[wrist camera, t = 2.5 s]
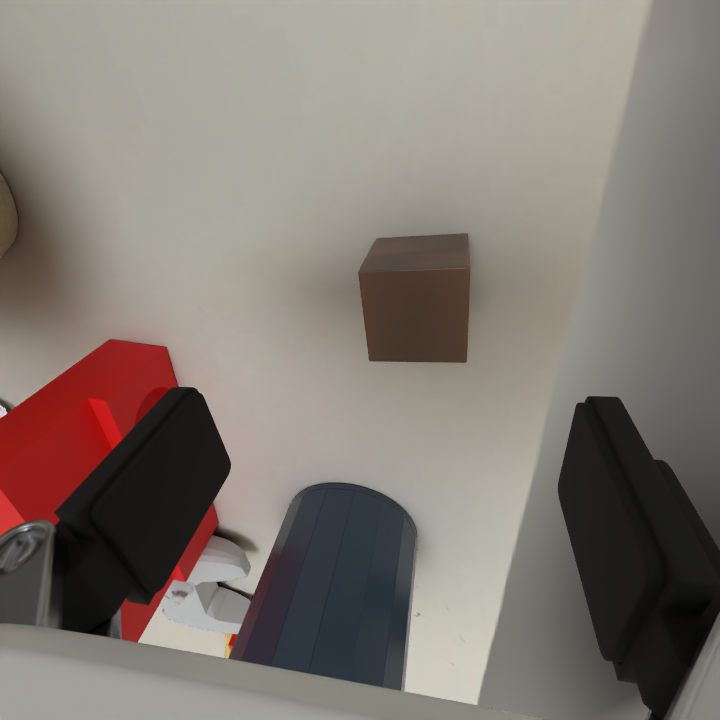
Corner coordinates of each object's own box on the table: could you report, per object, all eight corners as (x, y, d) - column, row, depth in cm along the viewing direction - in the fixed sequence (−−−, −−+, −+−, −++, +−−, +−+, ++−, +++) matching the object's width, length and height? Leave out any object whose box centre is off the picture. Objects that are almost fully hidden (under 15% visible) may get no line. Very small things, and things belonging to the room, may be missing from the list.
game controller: (262, 646, 40) (160, 646, 39) (270, 599, 43) (177, 599, 43) (242, 570, 32) (113, 570, 31) (253, 520, 35) (138, 519, 35)
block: (467, 233, 17) (470, 267, 14) (465, 316, 19) (466, 362, 16) (375, 238, 18) (357, 271, 15) (383, 317, 20) (368, 361, 17)
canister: (414, 489, 27) (391, 701, 18) (419, 570, 32) (403, 766, 23) (277, 477, 29) (192, 659, 20) (303, 555, 35) (246, 727, 25)
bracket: (142, 661, 26) (11, 625, 28) (218, 522, 34) (114, 501, 36) (13, 482, 16) (-184, 441, 17) (166, 347, 24) (24, 327, 26)
